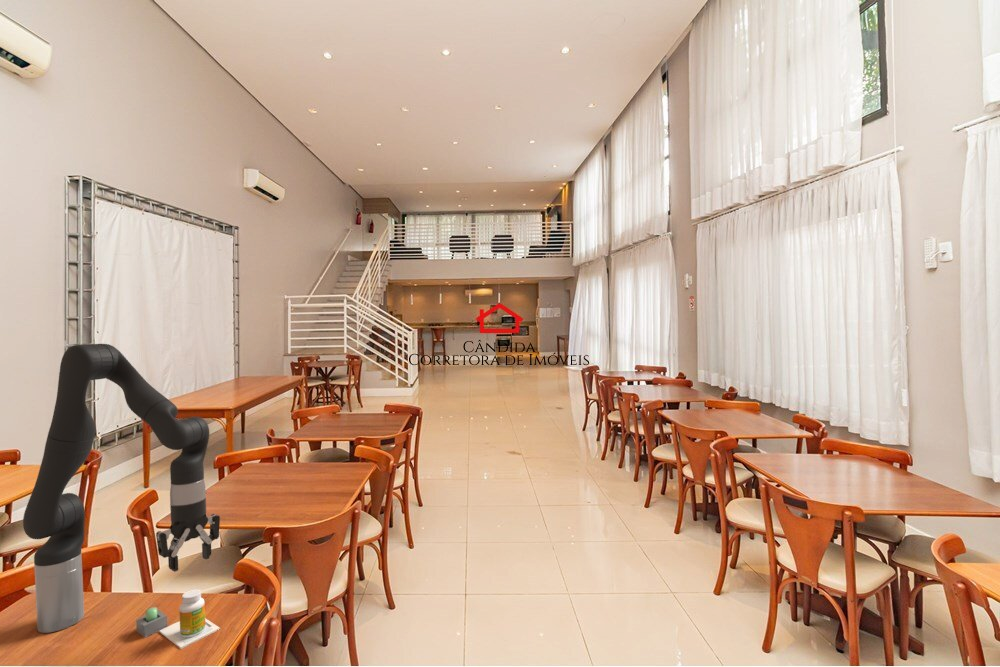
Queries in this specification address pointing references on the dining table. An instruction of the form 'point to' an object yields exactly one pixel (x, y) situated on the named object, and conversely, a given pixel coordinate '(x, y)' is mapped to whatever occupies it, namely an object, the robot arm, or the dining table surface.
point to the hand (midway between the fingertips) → (190, 564)
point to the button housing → (151, 624)
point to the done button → (151, 614)
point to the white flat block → (175, 637)
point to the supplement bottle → (192, 614)
